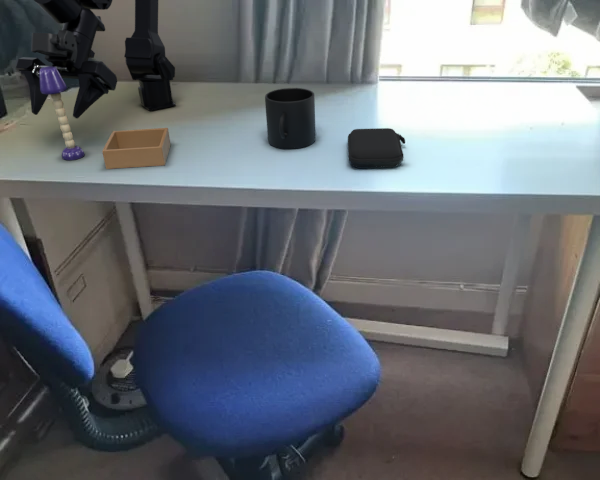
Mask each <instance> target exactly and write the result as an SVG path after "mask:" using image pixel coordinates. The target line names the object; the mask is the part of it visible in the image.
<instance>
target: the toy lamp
mask: <svg viewBox="0 0 600 480" xmlns="http://www.w3.org/2000/svg"><path fill="white" fill-rule="evenodd" d="M47 66H48V67H44V68H41V69H40V71H39V76H40V91H41V93H42V94H47V95H48V96H49V95H50V98H51V99H52V105H53V107H54V108H55V109H54V110H55V111H54V112H55V114H56V116H57V122H58V124H59V128H60V131H61V132H62V139H63V140H64V144H65V146H66V147H65V148H63V150H62V152H61V158H62V159H63V160H64V161H76V160H79V159H83V157H84V156H85V151H84V149H83V148H82V147H80V146H78V145H76V142H75V140H74V135H73V133H72V131H71V125H70V124H69V119H68V116H67V111H66V109H65V107H64V101H63V100H62V94H61V93H63V92H65V91H67V89H68V87H67V84H66V82H65V80H64V78H62V77H61V75H60V73H59V71H58V70H57V68H56V67H54V66H52V65H47Z"/></svg>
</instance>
